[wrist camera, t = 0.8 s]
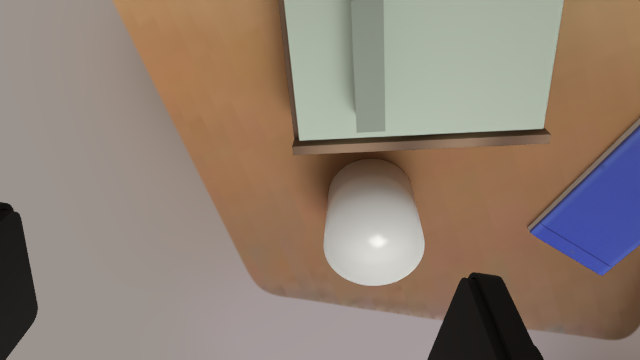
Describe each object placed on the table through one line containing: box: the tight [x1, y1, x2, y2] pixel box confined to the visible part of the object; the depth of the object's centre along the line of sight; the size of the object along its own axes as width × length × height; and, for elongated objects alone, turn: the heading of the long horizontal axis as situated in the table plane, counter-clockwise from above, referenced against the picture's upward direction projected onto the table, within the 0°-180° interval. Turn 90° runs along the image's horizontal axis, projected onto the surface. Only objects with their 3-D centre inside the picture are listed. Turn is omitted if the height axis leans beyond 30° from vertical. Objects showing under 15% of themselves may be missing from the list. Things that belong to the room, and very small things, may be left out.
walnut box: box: [278, 0, 562, 155], centre depth 29 cm, size 16×12×6 cm
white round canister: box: [324, 159, 425, 286], centre depth 35 cm, size 7×7×7 cm
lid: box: [284, 0, 564, 141], centre depth 25 cm, size 15×10×4 cm, turn 95°
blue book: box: [528, 118, 640, 276], centre depth 36 cm, size 2×8×12 cm
